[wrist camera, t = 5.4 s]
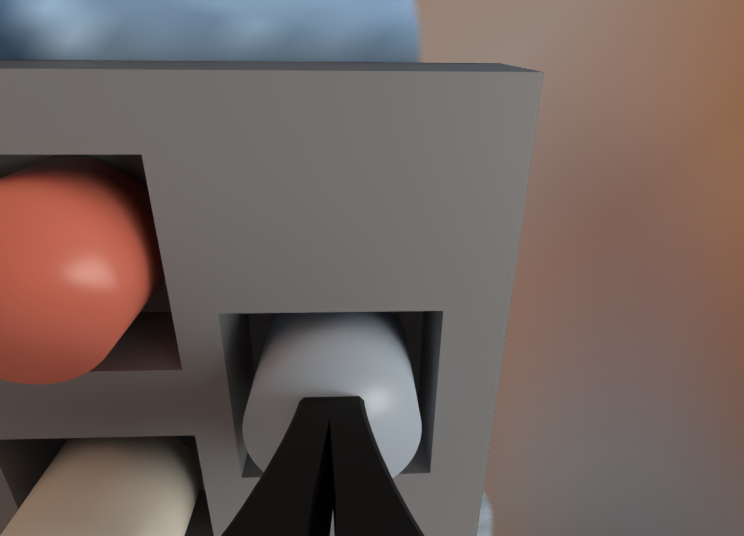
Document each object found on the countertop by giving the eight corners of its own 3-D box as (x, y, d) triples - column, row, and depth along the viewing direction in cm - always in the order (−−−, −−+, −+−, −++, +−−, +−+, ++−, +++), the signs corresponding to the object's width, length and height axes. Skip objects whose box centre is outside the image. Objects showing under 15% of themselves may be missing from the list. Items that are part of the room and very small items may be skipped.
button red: (184, 306, 13) (138, 382, 10) (31, 308, 13) (-60, 386, 10) (158, 155, 12) (93, 197, 9) (-19, 156, 11) (-146, 197, 8)
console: (451, 505, 18) (468, 589, 15) (59, 516, 18) (6, 604, 15) (499, 63, 12) (544, 72, 9) (-113, 58, 11) (-261, 66, 8)
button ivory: (210, 517, 15) (178, 629, 12) (78, 521, 15) (14, 636, 12) (191, 417, 14) (148, 521, 11) (42, 420, 14) (-41, 526, 11)
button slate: (404, 405, 15) (417, 494, 12) (270, 407, 15) (251, 498, 12) (409, 287, 13) (426, 358, 10) (259, 289, 13) (232, 361, 10)
